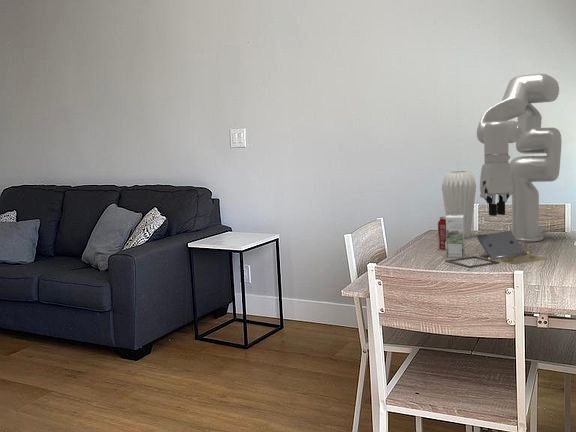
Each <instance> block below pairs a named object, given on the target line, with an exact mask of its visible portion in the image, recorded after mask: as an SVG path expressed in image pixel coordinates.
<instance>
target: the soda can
mask: <svg viewBox="0 0 576 432" xmlns="http://www.w3.org/2000/svg"><path fill="white" fill-rule="evenodd" d="M437 243H438V245H437V247H438V248H437V250H441V251H447V250H446V216H440V217H439V220H438V221H437Z"/></svg>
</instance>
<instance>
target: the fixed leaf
mask: <svg viewBox="0 0 576 432" xmlns="http://www.w3.org/2000/svg"><path fill="white" fill-rule="evenodd" d="M525 252H526V253H527V254H526V255H520V256H513V257H507V258H500V259H494V261H498V262H500V263H501V262H502V263H507V264H509V265H514V266H515V265H519V264H526V263H533V262H538V261H546V260H549V258H548V257H542V256H538V255H533V254H532V251H531V250H530V251H525ZM485 259H489V260H493V258H492V257H490V258H489V257H486V258H485Z"/></svg>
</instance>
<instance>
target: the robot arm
mask: <svg viewBox="0 0 576 432" xmlns="http://www.w3.org/2000/svg"><path fill="white" fill-rule="evenodd" d="M559 94H560V87H559V83H558V81H557V80H556V78H554V77H553V76H550V75H549V74H546V73H534V74H533V73H532V74H524V75H517V76H514V77H513V78H511V79H510V80H509V81H508V84H507V87H506V89H505V92H504V94H503V96H502V99H501V101H499V102H497V103H496V104H494V105H493V106H491V107H490V108H488V109H487V110H486V111H485V112H483V114H482V116H481V118H480V119H479V122H478V126H477V129H476V138H477V140H478V142H479V143H481V144H484V145H483V146H484V147H483V148H484V150H483V151H484V153H483V154H484V155H483V156H484V161H483V162H484V164H482V165H481V168H480V169H481V171H480V177H479V178H480V181H479V192H480V195H479V197H480V198H482V199H484V200H485V202H486V204H488V216H492V217H497V215H499V216H505V215H506V203H507V202H508V199H509V198H510V197H511V229H512V230H511V232H512V234H513V235H514V237H515V238H516V240H517V241H518V242H521V243H533V242H539V241H540V242H541V241H543V240H544V236H543V235H542V234H543V233H545V234H546V233H548V232H549V228H548V227H541V226H540V219H539V218H540V207H539V206H540V204H539V203H540V195H539V194H540V193H539V190H538V189H537V187H536V186H535V185H534V184H533V183H534V182H536V183H537V182H539V183H540V182H543V183H545V182H546V183H547V182H554V181H556V180H557V179H558V178H559V175H560V169H561V158H562V157H561V156H562V144H563V143H562V134H561V132H560V130H559V129H558V128H556V127H542V114H541V112H540V111H539V110H538V109H537V108H536V107H535V105H533V104H538V103H540V104H541V103H543V104H544V103H551V102H555V101H556V100H557V99H558V97H559ZM515 118H517V121H515V120H512V119H515ZM514 143H515V149H516V151H517V152H518V153H519V154H526V155H524V156H523V155H522V156H517V157H514V158H513V159H511V161H509V160H510V158H511V156H510V155H509V144H514ZM527 154H528V155H527ZM529 154H530V155H529ZM533 154H544V155H533ZM496 197H497V202H496Z"/></svg>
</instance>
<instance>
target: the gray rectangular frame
mask: <svg viewBox="0 0 576 432" xmlns="http://www.w3.org/2000/svg"><path fill="white" fill-rule="evenodd" d="M470 259H471V260H472V259H477V260H481V261H485V262H486V263H479V264H475V265H474V264H473V265H468V264H466V263H465V264H464V263H460V262H459V261H465V260H470ZM445 263H446V265H447V266H449V264H452V265H450V266H451V267H453V268H454V267H455V268H459V269H460V267H462V268H461V269H463V270H464V268H465V270H467V271H469V272H470V271H471V270H470V269H472V268H479V267H484V266H485V267H486V266H491V265H498V264H501V261H497V260H489V259H486V258H485V257H480V256H475V255H473V256H464V257H457V258H454V259H446V260H445ZM455 265H456V266H455ZM463 267H464V268H463ZM466 268H468V269H466Z"/></svg>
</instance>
